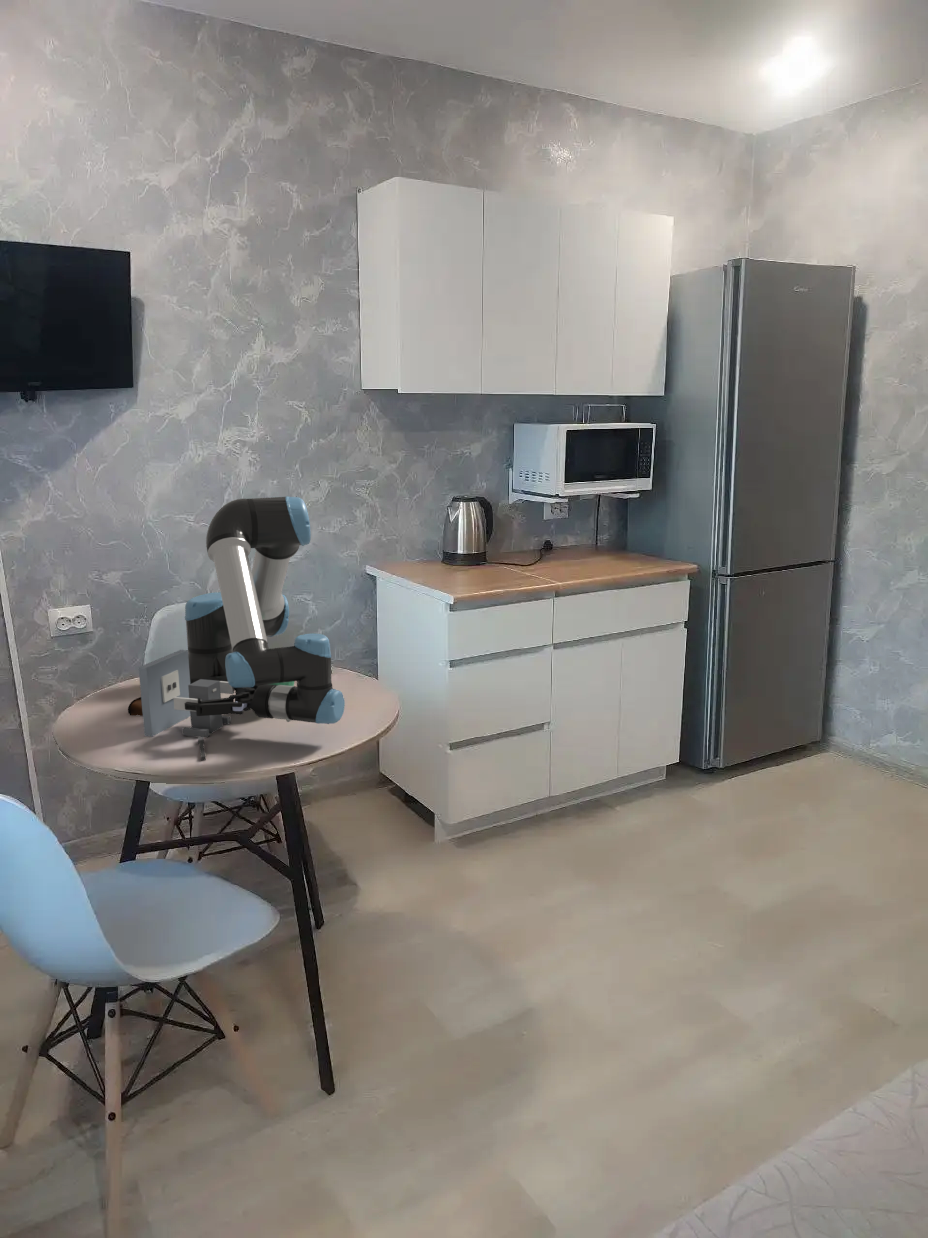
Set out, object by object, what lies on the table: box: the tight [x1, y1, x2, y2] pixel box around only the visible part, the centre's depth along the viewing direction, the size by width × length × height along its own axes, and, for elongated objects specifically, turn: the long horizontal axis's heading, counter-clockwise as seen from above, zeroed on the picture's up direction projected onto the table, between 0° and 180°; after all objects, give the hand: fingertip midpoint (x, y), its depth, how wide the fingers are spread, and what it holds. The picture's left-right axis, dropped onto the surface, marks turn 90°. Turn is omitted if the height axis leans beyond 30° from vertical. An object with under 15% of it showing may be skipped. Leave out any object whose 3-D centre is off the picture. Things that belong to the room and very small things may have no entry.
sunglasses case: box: [127, 696, 143, 717], centre depth 226 cm, size 18×7×7 cm
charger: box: [188, 679, 224, 735], centre depth 207 cm, size 5×6×11 cm
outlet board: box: [138, 649, 232, 738], centre depth 207 cm, size 16×14×16 cm
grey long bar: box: [197, 737, 207, 761], centre depth 194 cm, size 12×1×1 cm, turn 18°
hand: (192, 694), depth 207 cm, fingers open, 13 cm apart
